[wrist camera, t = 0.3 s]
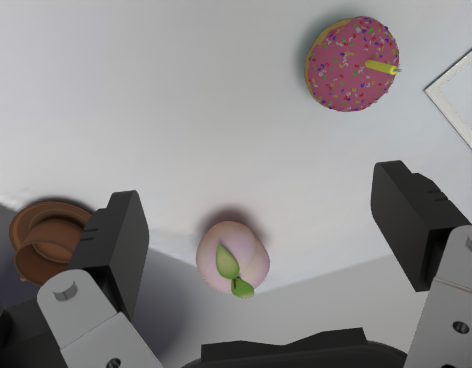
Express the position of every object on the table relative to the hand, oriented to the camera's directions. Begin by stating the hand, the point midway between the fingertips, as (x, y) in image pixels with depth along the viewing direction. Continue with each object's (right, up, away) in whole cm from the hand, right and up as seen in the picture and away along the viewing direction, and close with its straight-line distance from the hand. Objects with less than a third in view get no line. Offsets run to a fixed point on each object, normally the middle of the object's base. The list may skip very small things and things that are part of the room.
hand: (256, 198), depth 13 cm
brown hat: (-23, -6, +37) cm, 44 cm away
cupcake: (+10, +14, +26) cm, 31 cm away
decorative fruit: (-2, -6, +38) cm, 38 cm away
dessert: (+28, +12, +29) cm, 42 cm away
